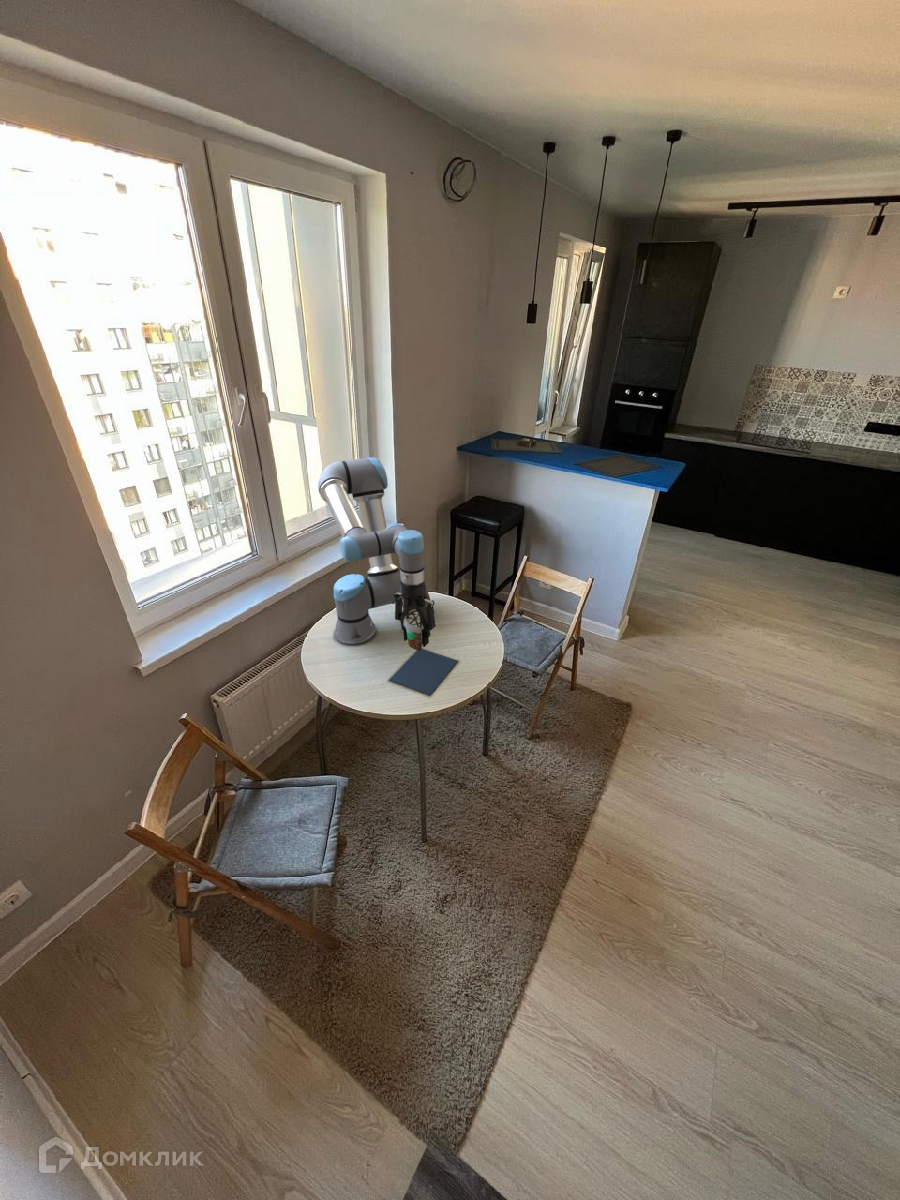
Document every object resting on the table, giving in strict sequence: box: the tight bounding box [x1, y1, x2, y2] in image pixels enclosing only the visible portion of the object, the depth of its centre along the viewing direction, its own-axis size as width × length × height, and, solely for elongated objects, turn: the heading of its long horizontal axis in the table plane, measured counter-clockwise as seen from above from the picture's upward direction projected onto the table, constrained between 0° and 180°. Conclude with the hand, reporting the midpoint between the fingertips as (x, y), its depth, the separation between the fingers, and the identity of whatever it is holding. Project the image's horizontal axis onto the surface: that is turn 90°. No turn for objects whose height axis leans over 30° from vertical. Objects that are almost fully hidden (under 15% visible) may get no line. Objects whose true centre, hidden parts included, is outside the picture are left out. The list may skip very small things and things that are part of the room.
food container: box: [404, 609, 424, 651], centre depth 160 cm, size 12×6×10 cm, turn 177°
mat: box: [388, 648, 459, 696], centre depth 170 cm, size 16×20×1 cm
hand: (416, 641), depth 162 cm, fingers closed on food container, 7 cm apart
